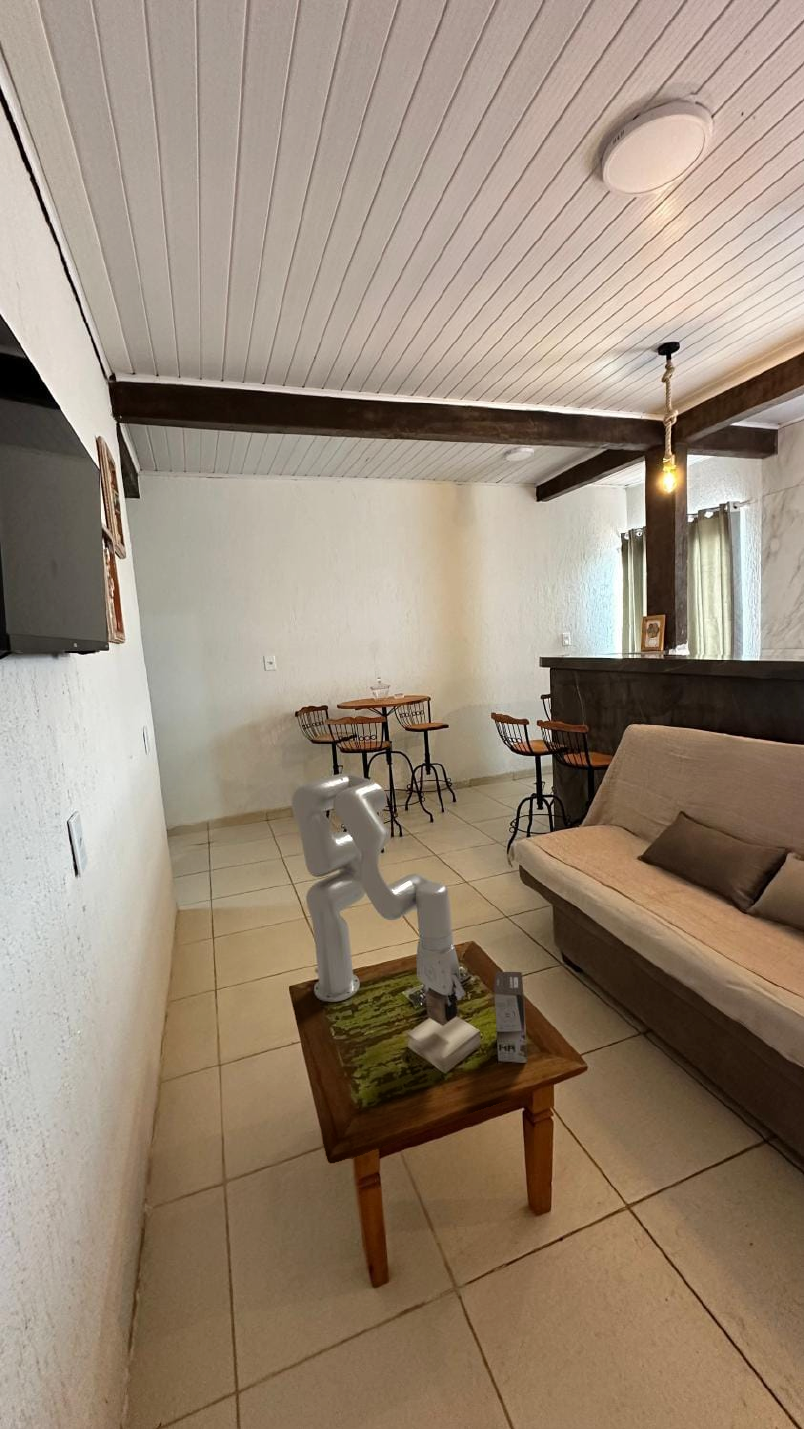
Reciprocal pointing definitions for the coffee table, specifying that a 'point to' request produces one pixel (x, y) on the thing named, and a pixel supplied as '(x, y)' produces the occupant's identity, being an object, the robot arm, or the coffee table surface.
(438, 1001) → the walnut block
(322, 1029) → the coffee table surface
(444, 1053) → the birch base
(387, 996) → the coffee table surface
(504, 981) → the coffee box
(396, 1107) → the coffee table surface
